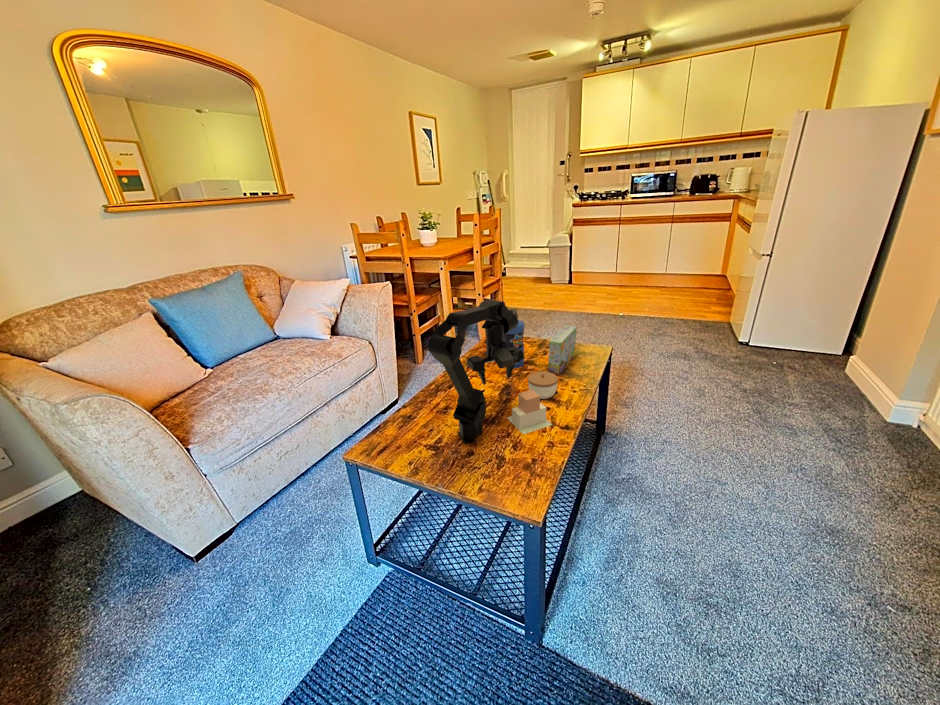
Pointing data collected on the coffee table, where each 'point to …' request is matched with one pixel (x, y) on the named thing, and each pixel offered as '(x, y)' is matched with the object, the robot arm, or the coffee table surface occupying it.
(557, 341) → the snack box
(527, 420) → the bottom brick
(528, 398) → the top brick
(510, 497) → the coffee table surface
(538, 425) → the baseplate
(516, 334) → the water bottle
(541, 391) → the lidded jar
